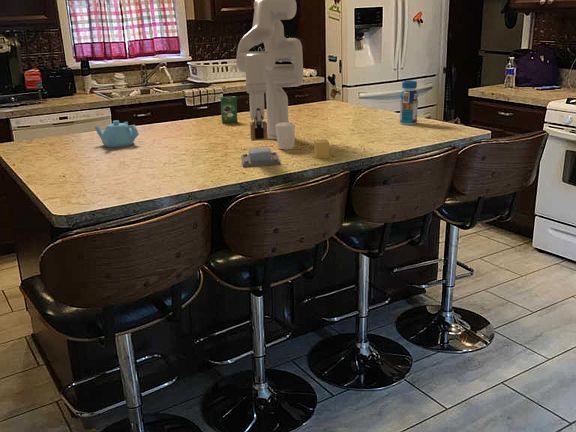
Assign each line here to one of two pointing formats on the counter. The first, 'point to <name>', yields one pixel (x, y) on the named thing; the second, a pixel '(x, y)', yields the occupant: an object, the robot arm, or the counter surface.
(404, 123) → the blue capped bottle
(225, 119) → the coffee box
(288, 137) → the white cup
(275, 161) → the build plate
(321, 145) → the mustard brick
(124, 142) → the teapot
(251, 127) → the walnut brick
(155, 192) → the counter surface
